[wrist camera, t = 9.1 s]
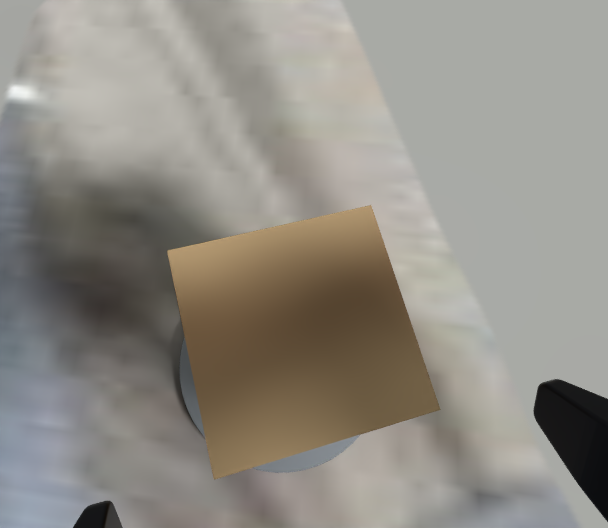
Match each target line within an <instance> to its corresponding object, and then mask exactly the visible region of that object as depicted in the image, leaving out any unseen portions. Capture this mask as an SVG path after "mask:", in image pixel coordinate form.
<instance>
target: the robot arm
mask: <svg viewBox="0 0 608 528" xmlns="http://www.w3.org/2000/svg"><path fill="white" fill-rule="evenodd" d="M534 416H535V419H536V421H537V423H538V425H539V426H540V428H541V429H542V431H543V432H544V434H545V435H546V437H547V438H548V440H549V441H550V443H551V444H552V445H553V447H554V449H555V450H556V452H557V453H558V455H559V456H560V458H561V459H562V461H563V462H564V464H565V465H566V467H567V469H568V470H569V471H570V473H571V474H572V476H573V477H574V479H575V480H576V482H577V483H578V485H579V486H580V487H581V488H582V490H583V491H584V493H585V494H586V495H587V496H588V498H589V499H590V500H591V501H592V503H593V504H594V505H595V507H596V508H597V509H598V510H599V512H600V513H601V514H602V515H603V517H604V518H605V519H606V520H607V522H608V399H607V398H604V397H602V396H599V395H597V394H594V393H592V392H589V391H587V390H585V389H582V388H579V387H577V386H575V385H572V384H570V383H567V382H565V381H562V380H559V379H554V380H550V381H547V382H543V383H541V384H540V385H539V386H538V390H537V395H536V400H535V406H534ZM73 528H123V527H122V525H121V522H120V520H119V517H118V515H117V512H116V510H115V507H114V505H113V503H112V502H111V501H103V502H100V503H96V504H92V505H90V506H88V507H86V508H85V509H84V511H83V512H82V514H81V516H80V517H79V519H78V520H77V522H76V524H75V525H74V527H73Z"/></svg>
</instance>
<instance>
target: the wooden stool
mask: <svg viewBox="0 0 608 528" xmlns="http://www.w3.org/2000/svg"><path fill="white" fill-rule="evenodd" d="M167 253H168V257H169V262H170V267H171V272H172V277H173V282H174V287H175V292H176V297H177V301H178V306H179V311H180V316H181V321H182V326H183V331H184V336H185V341H186V345H187V350H188V355H189V360H190V365H191V370H192V375H193V380H194V385H195V390H196V394H197V399H198V404H199V409H200V414H201V419H202V424H203V429H204V434H205V438H206V443H207V448H208V453H209V458H210V463H211V468H212V473H213V478H214V480H215V479H218V478H221V477H224V476H227V475H231V474H234V473H237V472H240V471H244V470H247V469H250V468H253V467H257V466H260V465H263V464H266V463H270V462H273V461H276V460H279V459H282V458H286V457H289V456H292V455H295V454H299V453H302V452H305V451H308V450H312V449H315V448H318V447H321V446H325V445H328V444H331V443H334V442H338V441H341V440H344V439H347V438H350V437H354V436H357V435H360V434H363V433H367V432H370V431H373V430H376V429H380V428H383V427H386V426H389V425H393V424H396V423H399V422H402V421H405V420H409V419H412V418H415V417H418V416H422V415H425V414H428V413H431V412H435V411H438V410H440V407H439V404H438V401H437V398H436V395H435V392H434V389H433V387H432V384H431V381H430V378H429V375H428V372H427V369H426V366H425V363H424V360H423V357H422V354H421V351H420V348H419V345H418V342H417V339H416V336H415V333H414V330H413V327H412V325H411V322H410V319H409V316H408V313H407V310H406V307H405V304H404V301H403V298H402V295H401V292H400V289H399V286H398V283H397V280H396V277H395V274H394V271H393V268H392V265H391V263H390V260H389V257H388V254H387V251H386V248H385V245H384V242H383V239H382V236H381V233H380V230H379V227H378V224H377V221H376V218H375V215H374V212H373V209H372V206H371V205H370V206H365V207H361V208H356V209H352V210H347V211H343V212H338V213H334V214H329V215H325V216H320V217H316V218H311V219H307V220H302V221H298V222H293V223H289V224H284V225H280V226H275V227H271V228H266V229H262V230H257V231H253V232H248V233H244V234H239V235H235V236H230V237H226V238H221V239H217V240H212V241H208V242H204V243H199V244H195V245H190V246H186V247H181V248H177V249H172V250H168V251H167Z"/></svg>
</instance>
